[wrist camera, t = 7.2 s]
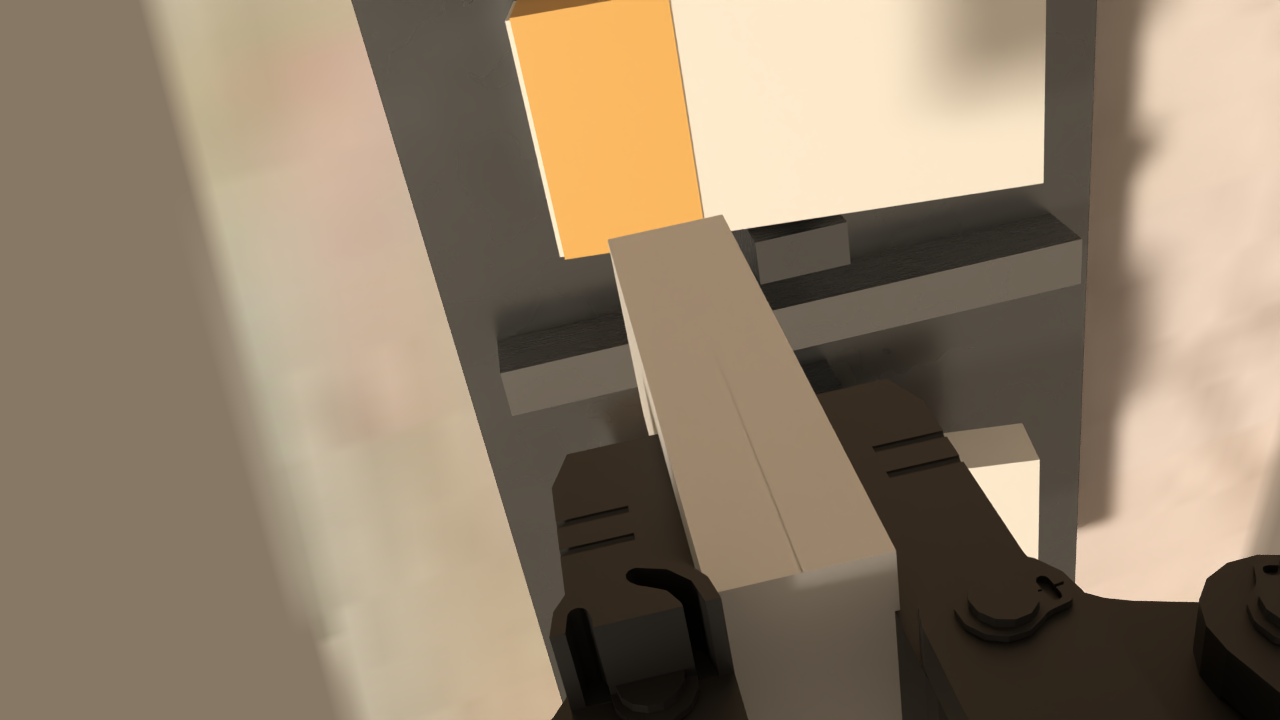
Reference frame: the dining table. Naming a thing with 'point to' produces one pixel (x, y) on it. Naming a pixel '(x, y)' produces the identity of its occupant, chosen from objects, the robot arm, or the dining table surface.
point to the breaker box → (778, 257)
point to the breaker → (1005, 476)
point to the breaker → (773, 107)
